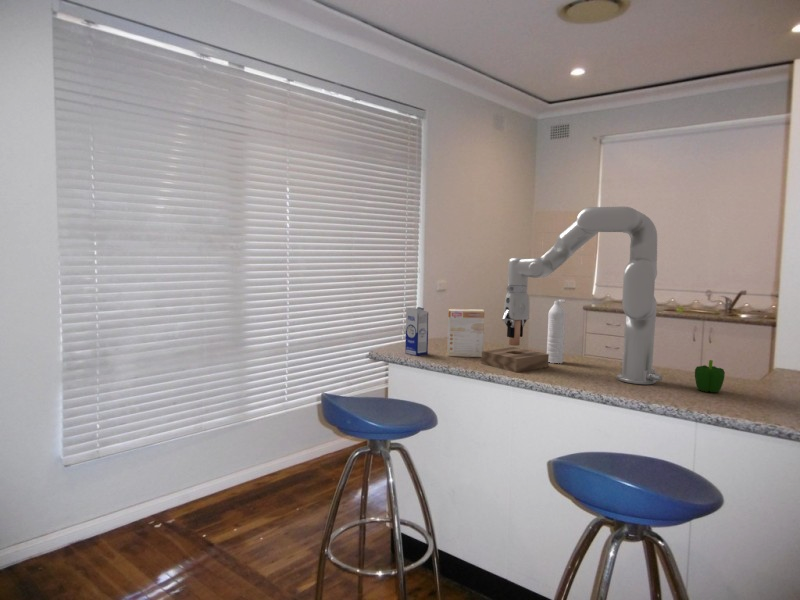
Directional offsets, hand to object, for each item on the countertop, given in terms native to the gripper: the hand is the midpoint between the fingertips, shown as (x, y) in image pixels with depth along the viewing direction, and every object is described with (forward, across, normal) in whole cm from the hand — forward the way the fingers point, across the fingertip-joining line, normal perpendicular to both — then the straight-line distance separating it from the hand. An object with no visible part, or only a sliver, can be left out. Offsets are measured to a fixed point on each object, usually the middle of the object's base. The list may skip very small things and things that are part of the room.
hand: (514, 336), depth 210 cm
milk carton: (+12, -19, +38) cm, 44 cm away
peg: (+3, 0, 0) cm, 3 cm away
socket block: (+11, 0, 0) cm, 11 cm away
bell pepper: (+11, +25, -61) cm, 67 cm away
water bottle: (+11, +20, -4) cm, 24 cm away
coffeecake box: (+12, -3, +25) cm, 27 cm away
